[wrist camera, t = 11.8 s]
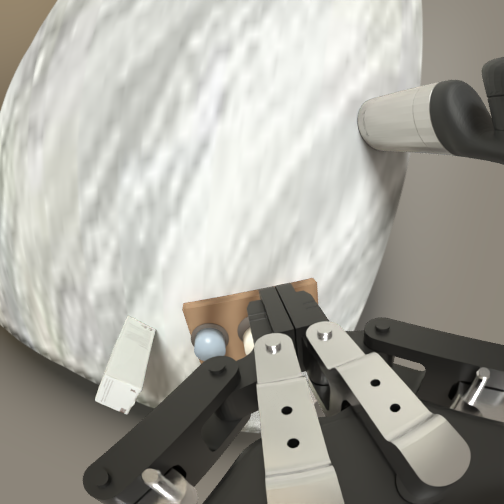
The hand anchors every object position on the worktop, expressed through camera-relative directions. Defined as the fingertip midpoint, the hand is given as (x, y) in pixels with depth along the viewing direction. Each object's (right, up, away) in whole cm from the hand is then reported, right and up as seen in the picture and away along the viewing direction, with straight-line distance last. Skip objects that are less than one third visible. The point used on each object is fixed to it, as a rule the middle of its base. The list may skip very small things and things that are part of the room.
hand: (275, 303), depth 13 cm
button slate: (-8, -12, +32) cm, 35 cm away
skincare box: (-22, -13, +33) cm, 42 cm away
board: (-1, -10, +34) cm, 36 cm away
